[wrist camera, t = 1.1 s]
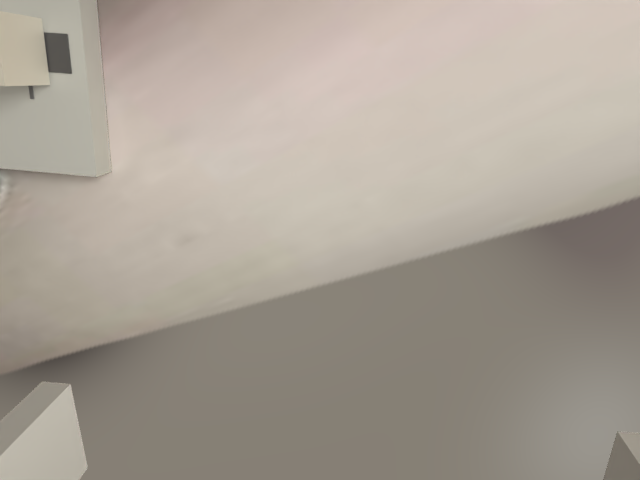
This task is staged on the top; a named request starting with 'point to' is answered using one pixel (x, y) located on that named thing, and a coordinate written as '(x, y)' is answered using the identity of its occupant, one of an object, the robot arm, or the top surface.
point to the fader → (22, 51)
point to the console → (59, 96)
